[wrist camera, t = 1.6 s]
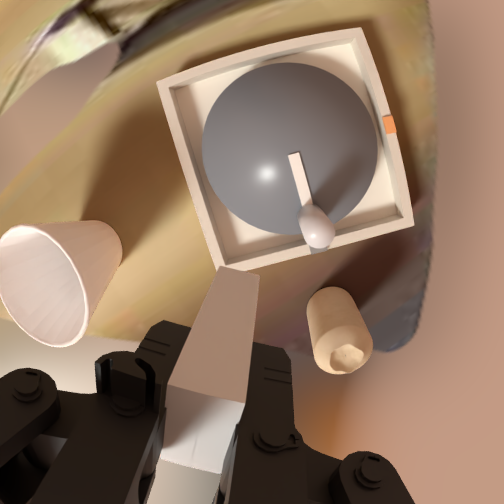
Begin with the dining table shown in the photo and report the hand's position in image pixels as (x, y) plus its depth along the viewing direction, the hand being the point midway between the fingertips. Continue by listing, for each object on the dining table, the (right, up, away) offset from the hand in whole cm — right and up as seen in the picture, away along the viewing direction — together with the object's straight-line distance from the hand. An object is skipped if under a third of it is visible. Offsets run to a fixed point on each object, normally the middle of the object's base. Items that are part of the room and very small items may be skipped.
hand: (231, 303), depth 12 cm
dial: (+4, +12, +17) cm, 21 cm away
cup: (-17, +2, +23) cm, 29 cm away
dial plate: (+4, +12, +19) cm, 23 cm away
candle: (+10, -4, +24) cm, 26 cm away
